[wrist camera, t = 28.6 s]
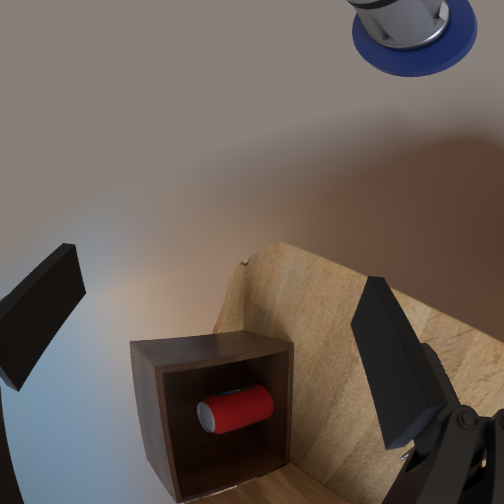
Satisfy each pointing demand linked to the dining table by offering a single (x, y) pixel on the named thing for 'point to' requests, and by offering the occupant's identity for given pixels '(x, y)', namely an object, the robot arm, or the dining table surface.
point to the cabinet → (196, 390)
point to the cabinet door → (278, 490)
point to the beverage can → (235, 409)
